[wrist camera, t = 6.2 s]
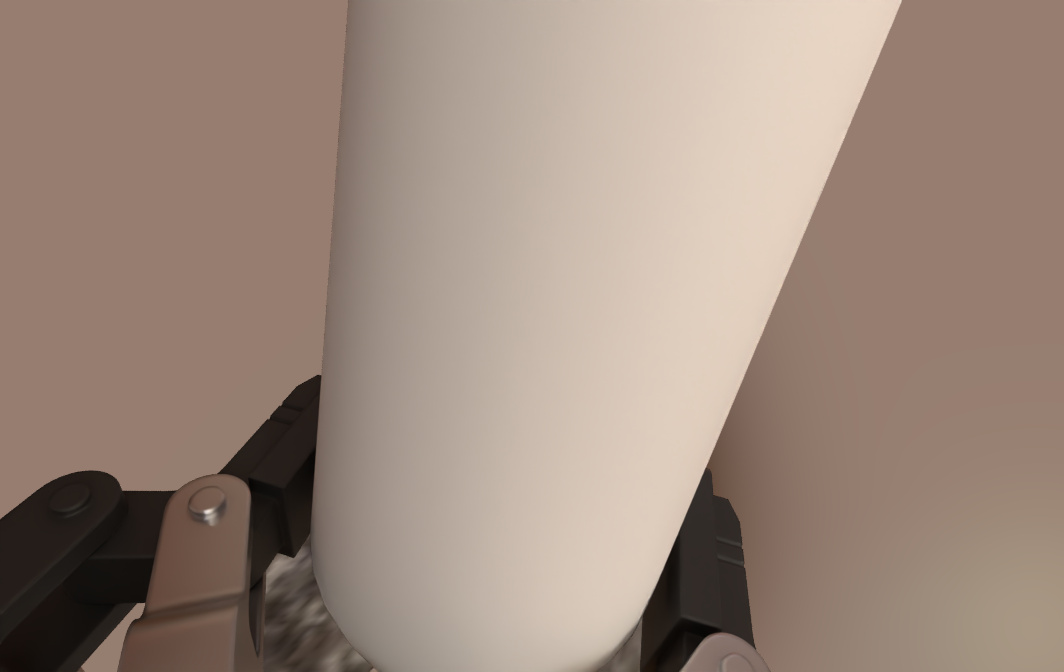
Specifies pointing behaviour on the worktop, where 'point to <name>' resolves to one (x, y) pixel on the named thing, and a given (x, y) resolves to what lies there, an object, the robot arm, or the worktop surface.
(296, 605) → the worktop surface
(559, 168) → the champagne flute
